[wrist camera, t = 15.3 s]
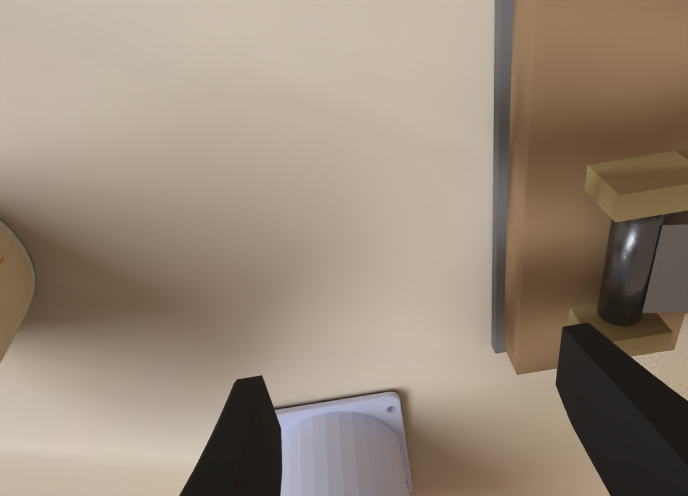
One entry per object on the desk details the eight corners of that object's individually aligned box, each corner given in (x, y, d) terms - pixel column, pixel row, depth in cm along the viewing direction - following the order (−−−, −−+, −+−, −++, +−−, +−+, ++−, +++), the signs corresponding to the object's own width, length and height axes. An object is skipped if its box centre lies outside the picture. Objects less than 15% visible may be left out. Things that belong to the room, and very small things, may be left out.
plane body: (650, 319, 26) (711, 393, 22) (491, 344, 26) (524, 422, 22) (802, -299, 14) (1003, -376, 10) (497, -239, 14) (575, -292, 10)
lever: (592, 298, 21) (739, 297, 20) (602, 326, 20) (758, 326, 19) (609, 194, 19) (780, 185, 17) (621, 217, 17) (806, 210, 16)
